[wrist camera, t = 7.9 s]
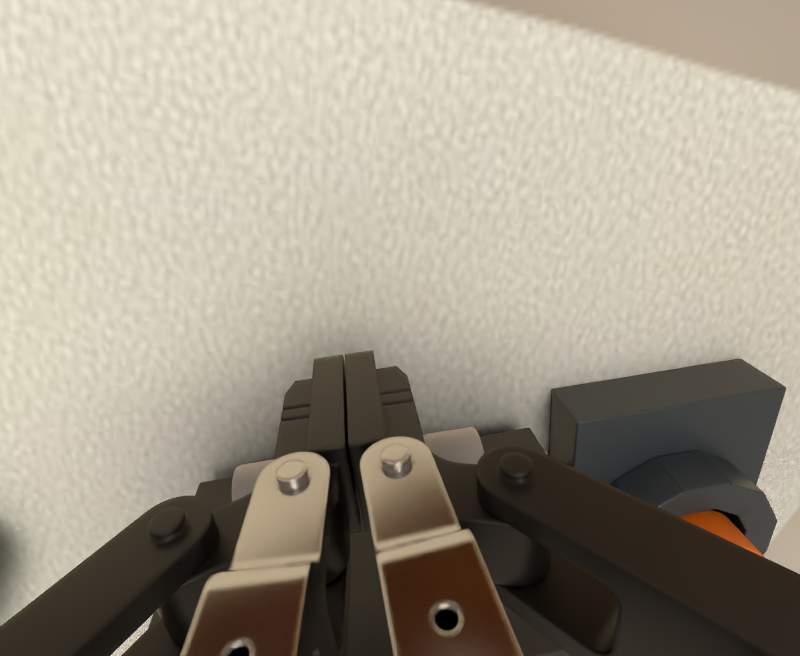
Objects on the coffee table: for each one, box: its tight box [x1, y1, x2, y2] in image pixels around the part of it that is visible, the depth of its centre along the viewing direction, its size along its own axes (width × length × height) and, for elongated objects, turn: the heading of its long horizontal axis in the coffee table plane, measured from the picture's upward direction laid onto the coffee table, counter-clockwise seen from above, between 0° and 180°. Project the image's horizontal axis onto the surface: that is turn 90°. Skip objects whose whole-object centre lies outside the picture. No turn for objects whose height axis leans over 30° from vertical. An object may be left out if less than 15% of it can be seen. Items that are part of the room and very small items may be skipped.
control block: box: [549, 359, 786, 555], centre depth 20 cm, size 11×8×4 cm
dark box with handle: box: [148, 427, 571, 656], centre depth 16 cm, size 18×12×8 cm
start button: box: [681, 510, 764, 557], centre depth 17 cm, size 4×4×2 cm
